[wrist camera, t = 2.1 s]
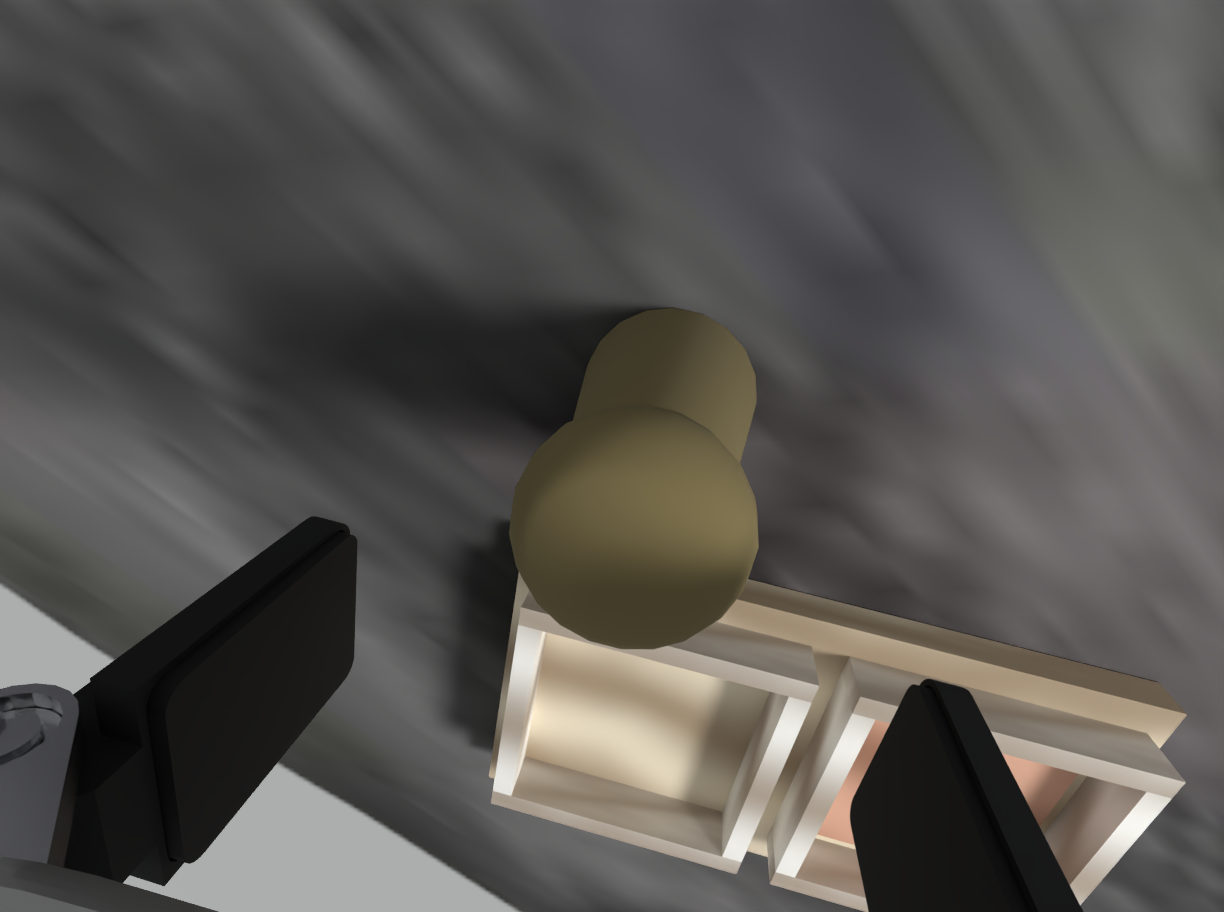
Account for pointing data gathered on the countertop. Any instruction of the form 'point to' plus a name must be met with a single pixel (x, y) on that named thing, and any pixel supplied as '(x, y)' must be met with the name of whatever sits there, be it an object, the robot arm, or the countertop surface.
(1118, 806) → the spice holder
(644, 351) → the cork
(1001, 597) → the countertop surface
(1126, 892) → the countertop surface
